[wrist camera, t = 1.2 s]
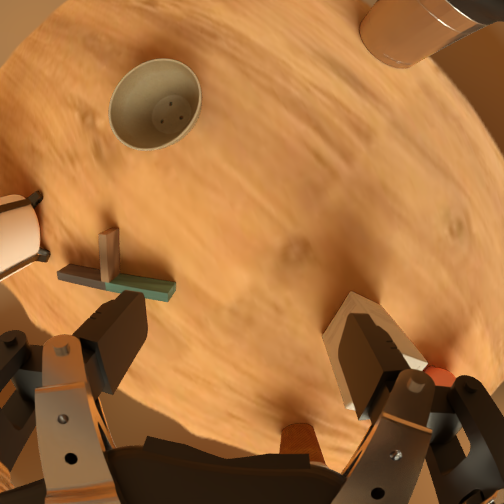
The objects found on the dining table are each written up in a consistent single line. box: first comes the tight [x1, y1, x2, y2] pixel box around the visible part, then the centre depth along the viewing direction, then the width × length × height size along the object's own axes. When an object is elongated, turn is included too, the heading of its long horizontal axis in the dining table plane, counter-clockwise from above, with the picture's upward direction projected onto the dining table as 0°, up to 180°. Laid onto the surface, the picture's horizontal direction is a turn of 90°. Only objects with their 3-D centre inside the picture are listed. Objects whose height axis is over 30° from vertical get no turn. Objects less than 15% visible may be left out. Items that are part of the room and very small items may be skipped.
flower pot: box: [109, 58, 202, 151], centre depth 26 cm, size 10×10×7 cm
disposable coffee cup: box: [279, 423, 329, 469], centre depth 38 cm, size 10×10×12 cm
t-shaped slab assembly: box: [57, 228, 176, 302], centre depth 33 cm, size 8×18×4 cm, turn 83°
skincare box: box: [322, 291, 428, 410], centre depth 29 cm, size 8×6×15 cm
